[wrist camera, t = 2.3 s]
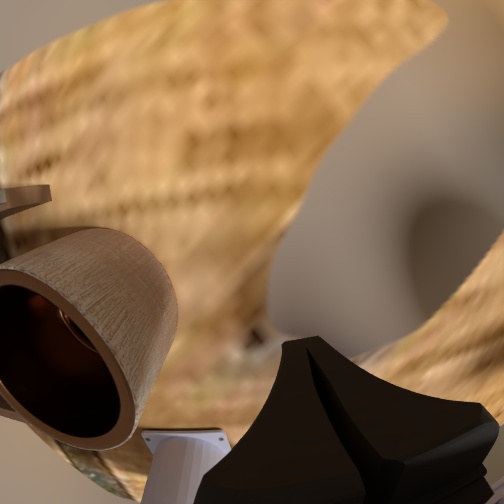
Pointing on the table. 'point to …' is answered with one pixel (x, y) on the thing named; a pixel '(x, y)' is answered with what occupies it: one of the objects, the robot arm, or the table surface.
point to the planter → (84, 335)
